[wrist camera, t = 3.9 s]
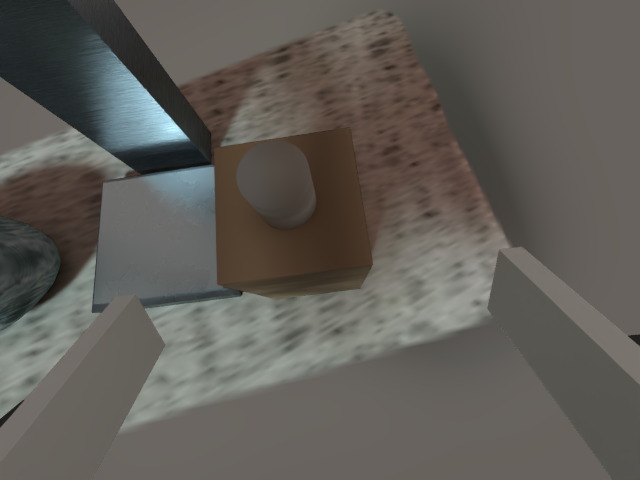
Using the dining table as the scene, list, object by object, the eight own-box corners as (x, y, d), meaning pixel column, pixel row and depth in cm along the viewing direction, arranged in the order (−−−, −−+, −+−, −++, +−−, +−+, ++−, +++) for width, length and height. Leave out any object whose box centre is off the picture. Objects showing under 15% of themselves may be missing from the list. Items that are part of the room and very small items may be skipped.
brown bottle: (276, 299, 21) (182, 276, 9) (269, 219, 22) (183, 108, 10) (359, 288, 21) (380, 250, 9) (347, 209, 22) (351, 82, 10)
